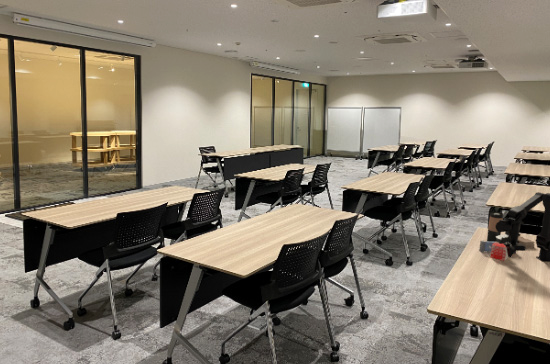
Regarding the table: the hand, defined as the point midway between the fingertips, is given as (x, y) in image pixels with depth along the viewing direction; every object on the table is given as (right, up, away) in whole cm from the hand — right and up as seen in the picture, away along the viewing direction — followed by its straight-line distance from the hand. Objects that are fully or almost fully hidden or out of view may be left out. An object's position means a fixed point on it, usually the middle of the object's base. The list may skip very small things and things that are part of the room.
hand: (509, 257), depth 243 cm
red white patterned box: (-1, -2, +9) cm, 10 cm away
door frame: (+3, 0, +18) cm, 18 cm away
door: (+3, 0, +17) cm, 18 cm away
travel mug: (+9, +3, +36) cm, 37 cm away
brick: (+26, +2, +35) cm, 44 cm away
